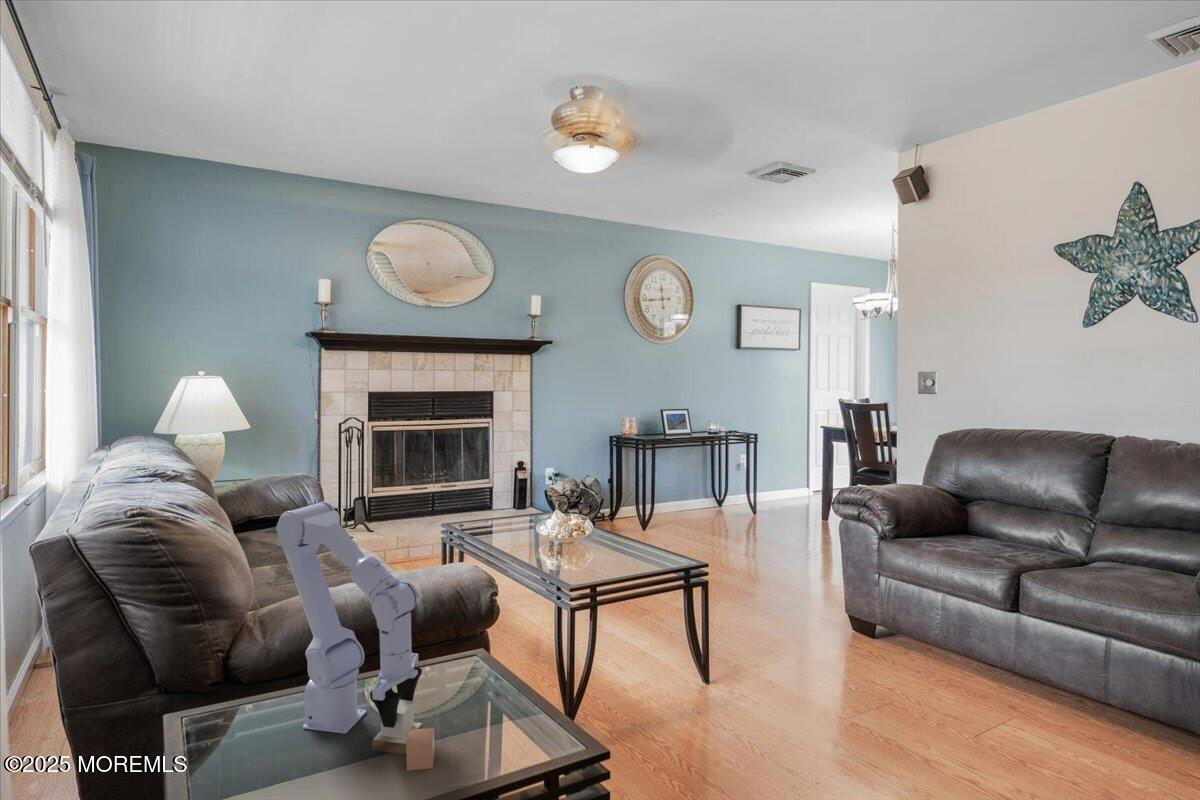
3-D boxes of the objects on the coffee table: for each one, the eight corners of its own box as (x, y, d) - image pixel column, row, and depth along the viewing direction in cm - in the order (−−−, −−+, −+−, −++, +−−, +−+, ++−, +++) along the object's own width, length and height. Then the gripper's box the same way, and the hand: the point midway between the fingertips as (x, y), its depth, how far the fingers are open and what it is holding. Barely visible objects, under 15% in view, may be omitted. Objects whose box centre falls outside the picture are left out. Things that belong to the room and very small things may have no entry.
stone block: (381, 735, 132) (380, 710, 131) (392, 722, 136) (392, 698, 136) (403, 739, 131) (403, 713, 131) (414, 725, 136) (413, 701, 135)
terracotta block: (406, 770, 125) (406, 744, 125) (409, 755, 130) (409, 729, 129) (432, 768, 126) (432, 742, 125) (434, 753, 130) (434, 727, 130)
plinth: (372, 752, 131) (371, 739, 131) (390, 730, 138) (389, 718, 138) (407, 756, 130) (406, 743, 130) (423, 734, 137) (423, 722, 137)
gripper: (397, 668, 124) (399, 740, 126) (432, 633, 138) (433, 698, 140) (360, 664, 126) (363, 736, 127) (398, 630, 140) (400, 695, 141)
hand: (397, 716), depth 134 cm, fingers open, 6 cm apart
